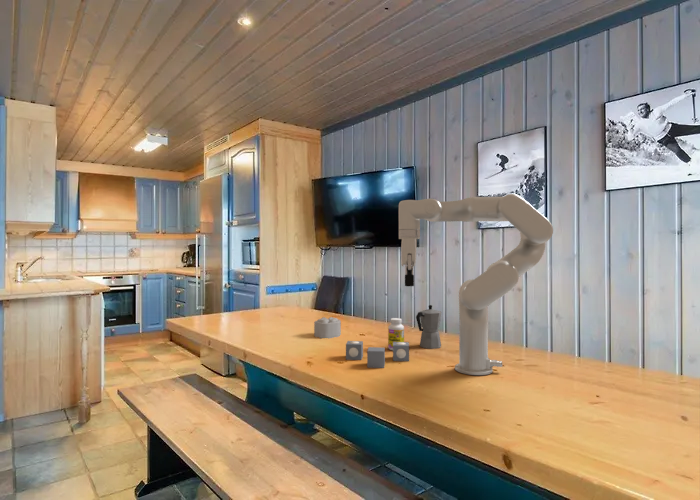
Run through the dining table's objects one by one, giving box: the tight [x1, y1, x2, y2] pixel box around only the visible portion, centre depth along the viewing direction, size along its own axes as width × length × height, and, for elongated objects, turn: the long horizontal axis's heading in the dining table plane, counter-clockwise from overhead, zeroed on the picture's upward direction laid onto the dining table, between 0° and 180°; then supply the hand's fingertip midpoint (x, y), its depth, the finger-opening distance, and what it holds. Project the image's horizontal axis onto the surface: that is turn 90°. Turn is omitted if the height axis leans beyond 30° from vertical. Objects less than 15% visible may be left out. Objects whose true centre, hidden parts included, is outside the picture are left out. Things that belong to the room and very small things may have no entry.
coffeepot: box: [415, 304, 442, 350], centre depth 185 cm, size 15×9×18 cm, turn 129°
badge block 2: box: [392, 341, 410, 362], centre depth 165 cm, size 6×6×6 cm
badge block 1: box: [345, 340, 364, 361], centre depth 167 cm, size 6×6×6 cm
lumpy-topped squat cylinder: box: [313, 316, 342, 339], centre depth 210 cm, size 10×13×9 cm
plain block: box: [366, 346, 386, 369], centre depth 156 cm, size 6×6×6 cm
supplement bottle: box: [387, 317, 405, 351], centre depth 181 cm, size 7×7×13 cm
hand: (409, 285), depth 153 cm, fingers closed
